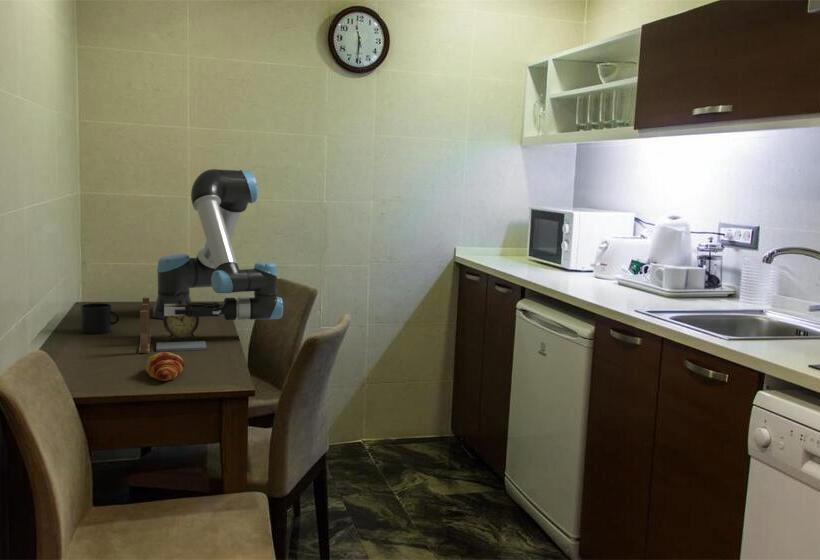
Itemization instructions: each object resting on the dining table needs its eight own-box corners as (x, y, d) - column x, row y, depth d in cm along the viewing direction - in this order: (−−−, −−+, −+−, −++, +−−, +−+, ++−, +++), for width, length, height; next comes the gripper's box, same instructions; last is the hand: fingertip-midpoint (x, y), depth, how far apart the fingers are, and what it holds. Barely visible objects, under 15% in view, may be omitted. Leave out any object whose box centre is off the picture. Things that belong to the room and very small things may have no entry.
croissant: (153, 377, 217) (139, 354, 215) (185, 359, 219) (171, 336, 217) (155, 396, 197) (140, 371, 195) (190, 377, 200) (175, 351, 198)
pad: (156, 345, 241) (156, 342, 241) (205, 343, 246) (205, 341, 246) (156, 351, 233) (156, 348, 233) (206, 349, 237) (206, 347, 237)
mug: (117, 334, 254) (116, 307, 253) (79, 334, 252) (78, 307, 251) (121, 328, 264) (121, 303, 262) (84, 328, 261) (84, 303, 260)
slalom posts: (141, 335, 253) (141, 297, 252) (151, 335, 254) (150, 297, 252) (138, 353, 229) (138, 311, 227) (149, 353, 230) (148, 311, 228)
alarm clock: (165, 342, 246) (164, 292, 244) (162, 338, 250) (161, 290, 248) (199, 339, 251) (199, 291, 249) (195, 336, 255) (195, 289, 253)
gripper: (238, 325, 246) (164, 326, 239) (234, 314, 264) (164, 315, 257) (238, 302, 245) (164, 303, 238) (234, 293, 263) (164, 294, 256)
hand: (164, 309), depth 248 cm, fingers closed on alarm clock, 6 cm apart
